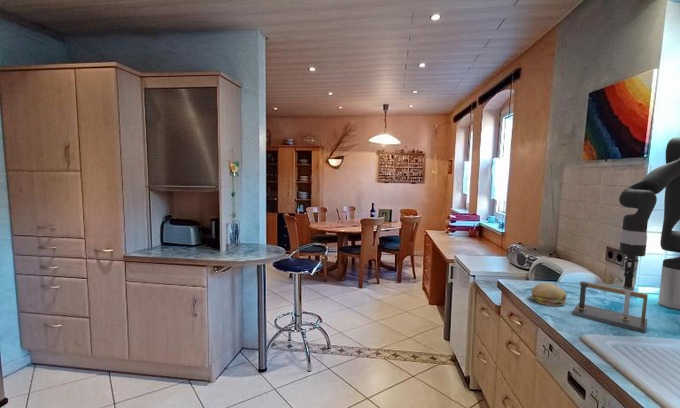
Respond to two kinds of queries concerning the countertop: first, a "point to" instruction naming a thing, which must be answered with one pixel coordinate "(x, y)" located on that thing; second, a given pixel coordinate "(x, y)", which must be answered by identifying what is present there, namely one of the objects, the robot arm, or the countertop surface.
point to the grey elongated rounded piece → (627, 297)
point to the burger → (548, 294)
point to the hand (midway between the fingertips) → (628, 285)
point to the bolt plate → (608, 315)
